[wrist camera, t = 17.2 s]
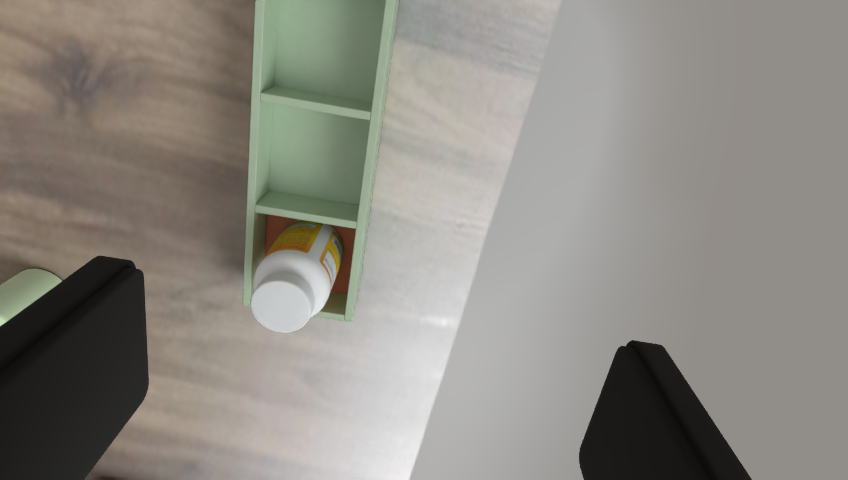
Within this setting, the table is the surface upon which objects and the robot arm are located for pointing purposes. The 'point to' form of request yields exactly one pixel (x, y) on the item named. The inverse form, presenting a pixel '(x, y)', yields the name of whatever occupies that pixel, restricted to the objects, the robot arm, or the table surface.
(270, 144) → the tray
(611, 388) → the robot arm
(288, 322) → the supplement bottle
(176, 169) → the table surface
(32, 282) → the candle
